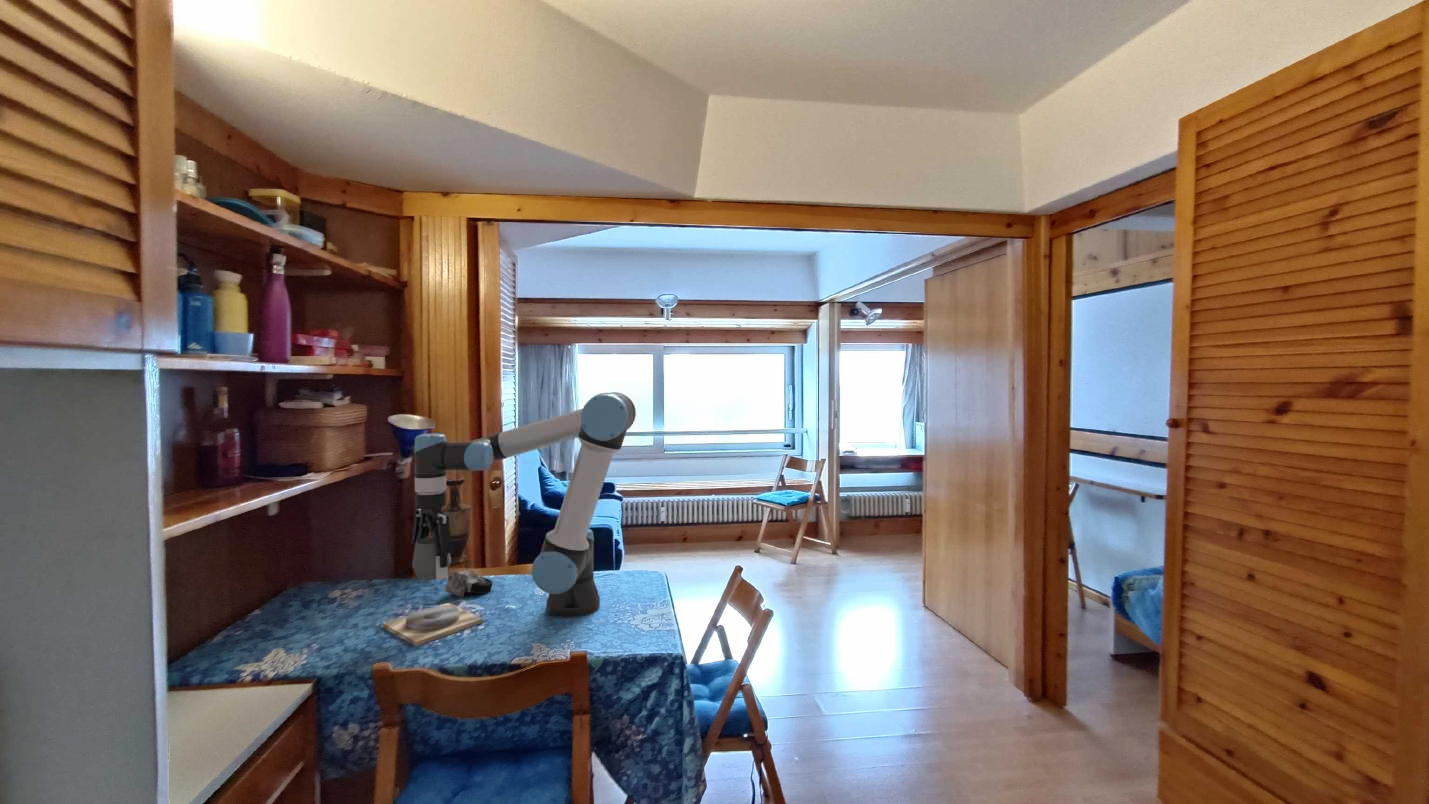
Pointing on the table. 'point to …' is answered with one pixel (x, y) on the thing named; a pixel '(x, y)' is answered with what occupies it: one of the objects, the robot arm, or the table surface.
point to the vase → (457, 521)
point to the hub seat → (432, 623)
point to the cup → (426, 559)
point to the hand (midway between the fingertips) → (432, 574)
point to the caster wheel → (467, 583)
